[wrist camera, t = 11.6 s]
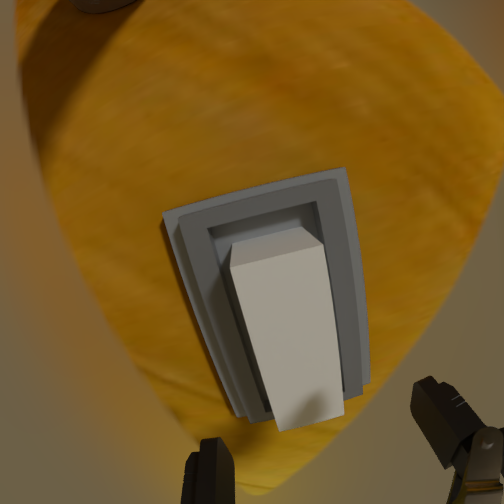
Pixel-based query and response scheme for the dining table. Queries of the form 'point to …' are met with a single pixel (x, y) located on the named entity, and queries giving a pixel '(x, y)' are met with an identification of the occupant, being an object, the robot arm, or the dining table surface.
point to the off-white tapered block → (291, 324)
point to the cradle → (223, 289)
